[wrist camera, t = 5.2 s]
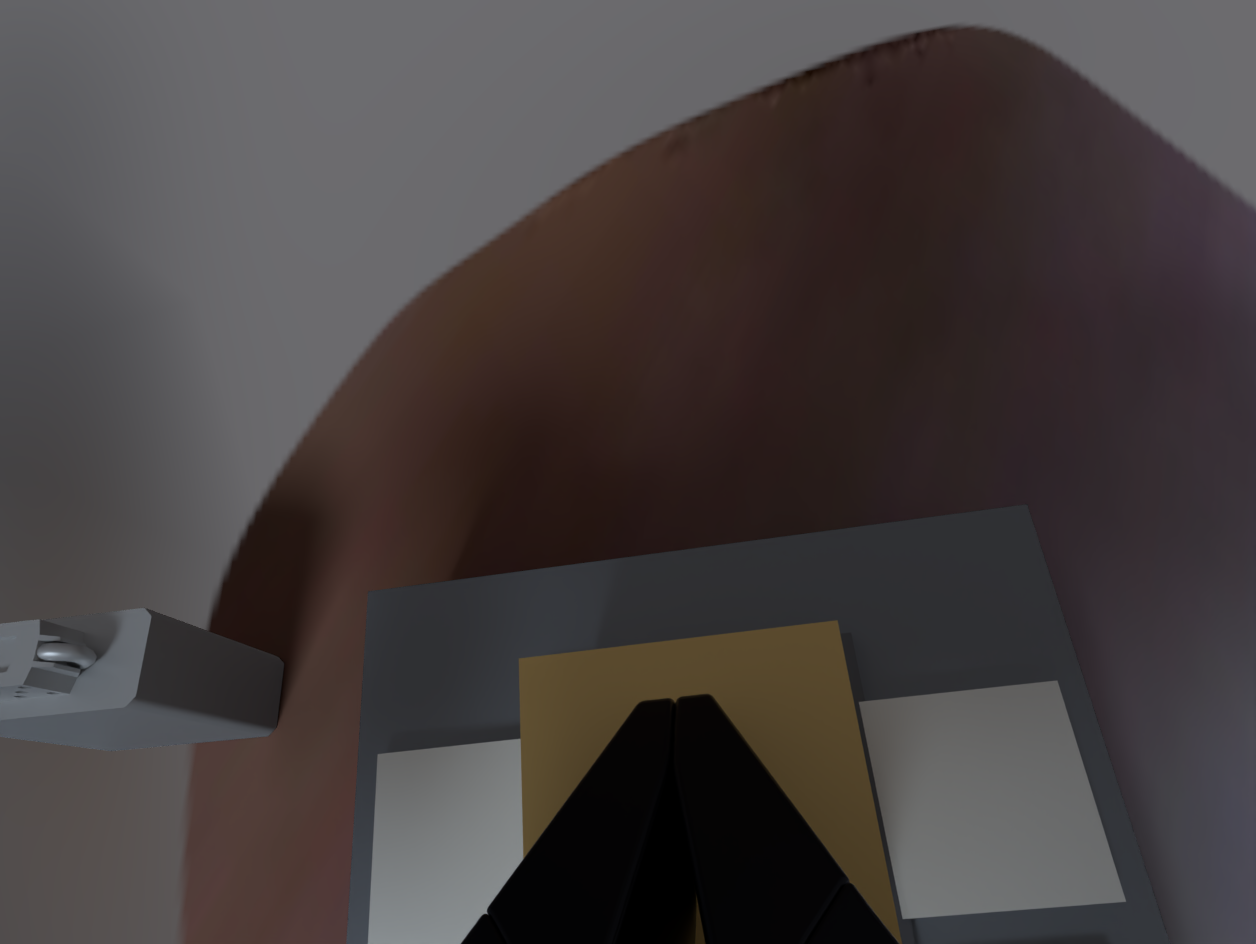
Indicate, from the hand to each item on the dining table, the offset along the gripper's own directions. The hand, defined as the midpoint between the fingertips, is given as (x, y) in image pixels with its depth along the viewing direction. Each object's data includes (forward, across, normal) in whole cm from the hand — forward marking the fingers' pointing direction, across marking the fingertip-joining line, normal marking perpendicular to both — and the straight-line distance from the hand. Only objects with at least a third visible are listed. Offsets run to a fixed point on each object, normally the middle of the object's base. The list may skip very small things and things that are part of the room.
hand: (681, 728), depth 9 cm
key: (+1, 0, +3) cm, 3 cm away
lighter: (+7, +13, +3) cm, 15 cm away
